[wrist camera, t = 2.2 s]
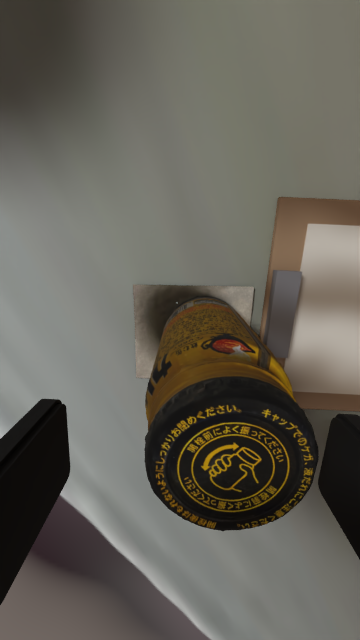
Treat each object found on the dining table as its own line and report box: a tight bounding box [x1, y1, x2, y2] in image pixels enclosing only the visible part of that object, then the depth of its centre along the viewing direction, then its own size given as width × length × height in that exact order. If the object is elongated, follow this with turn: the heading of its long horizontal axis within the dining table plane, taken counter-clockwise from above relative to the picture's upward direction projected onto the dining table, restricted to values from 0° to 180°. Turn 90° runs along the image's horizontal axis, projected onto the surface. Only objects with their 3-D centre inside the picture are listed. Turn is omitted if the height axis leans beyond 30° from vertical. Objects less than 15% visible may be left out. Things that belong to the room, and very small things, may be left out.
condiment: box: [133, 285, 319, 531], centre depth 13 cm, size 7×8×12 cm
